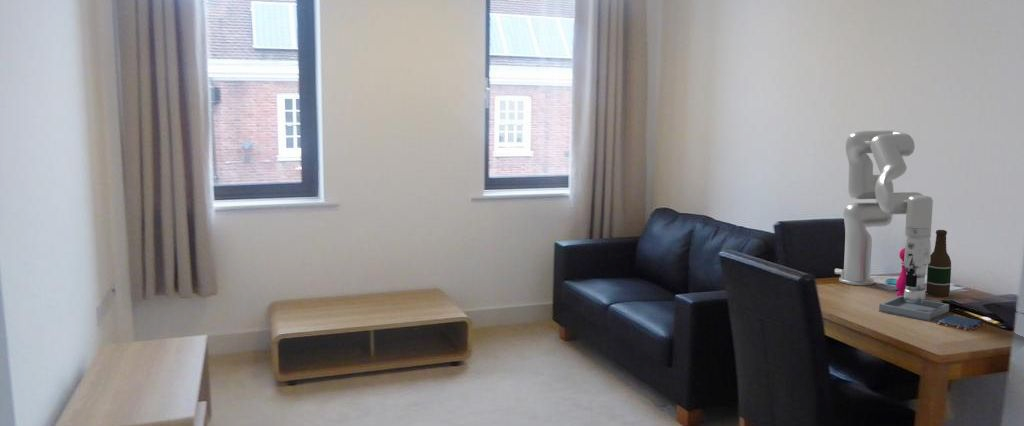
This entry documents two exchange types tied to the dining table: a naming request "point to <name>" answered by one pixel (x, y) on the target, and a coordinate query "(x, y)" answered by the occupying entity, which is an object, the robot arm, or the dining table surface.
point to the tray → (914, 308)
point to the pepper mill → (901, 276)
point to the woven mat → (959, 322)
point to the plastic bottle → (917, 292)
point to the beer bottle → (939, 268)
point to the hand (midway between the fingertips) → (915, 284)
